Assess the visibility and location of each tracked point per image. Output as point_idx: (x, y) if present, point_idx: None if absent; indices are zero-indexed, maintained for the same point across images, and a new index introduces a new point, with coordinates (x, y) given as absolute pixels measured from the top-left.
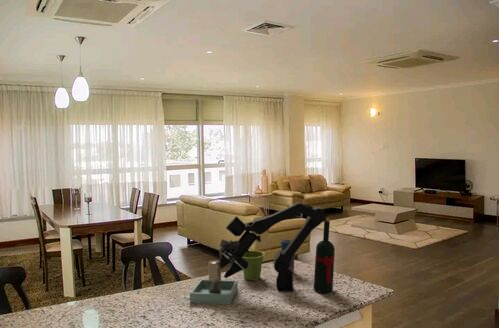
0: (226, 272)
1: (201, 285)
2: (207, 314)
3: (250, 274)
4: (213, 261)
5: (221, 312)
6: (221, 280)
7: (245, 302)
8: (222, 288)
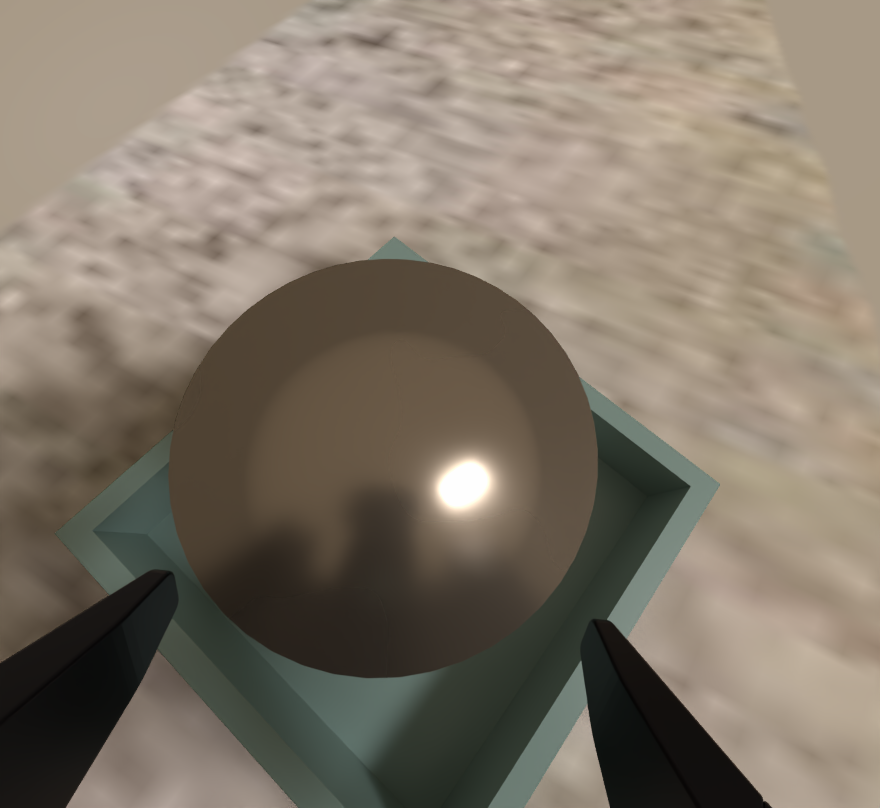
0: (74, 637)
1: (636, 473)
2: (116, 296)
3: None
4: (500, 454)
5: (57, 392)
6: (568, 703)
7: None
8: (505, 668)
